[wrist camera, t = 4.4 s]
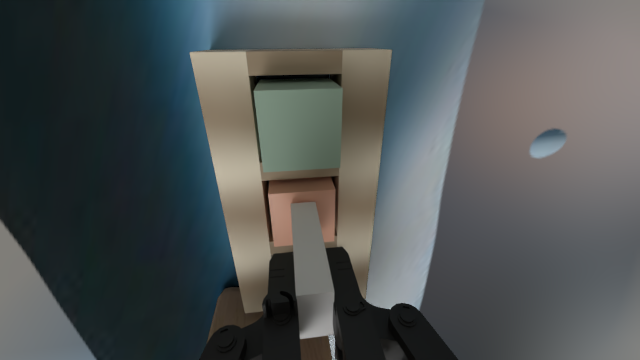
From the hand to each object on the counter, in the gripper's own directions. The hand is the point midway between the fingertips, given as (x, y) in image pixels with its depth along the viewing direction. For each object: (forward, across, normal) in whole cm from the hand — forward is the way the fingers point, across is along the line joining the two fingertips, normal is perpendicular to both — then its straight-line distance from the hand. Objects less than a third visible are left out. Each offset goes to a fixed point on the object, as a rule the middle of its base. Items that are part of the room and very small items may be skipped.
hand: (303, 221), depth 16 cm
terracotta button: (+4, 0, 0) cm, 4 cm away
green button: (+3, 0, -6) cm, 7 cm away
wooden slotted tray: (+5, 0, 0) cm, 5 cm away
